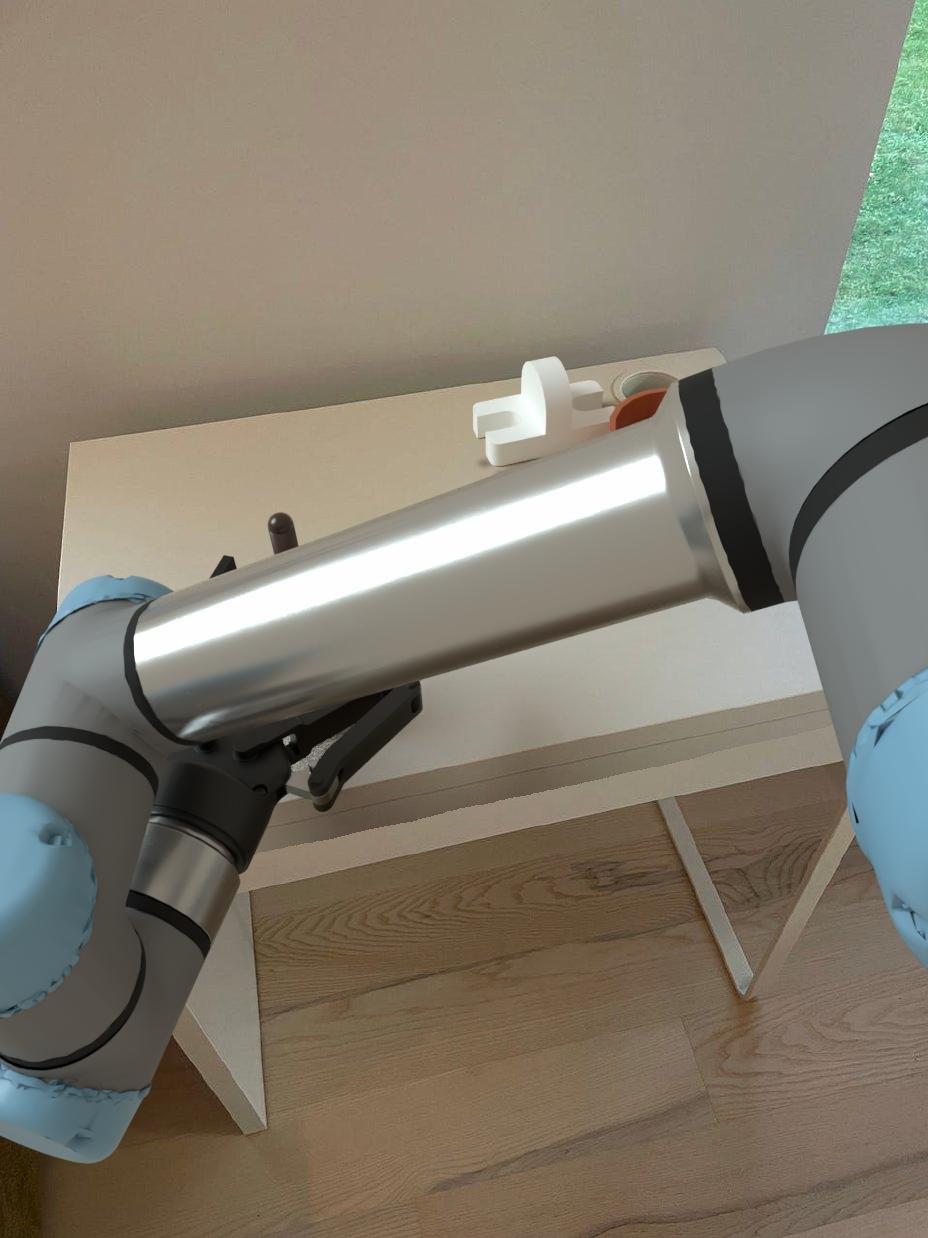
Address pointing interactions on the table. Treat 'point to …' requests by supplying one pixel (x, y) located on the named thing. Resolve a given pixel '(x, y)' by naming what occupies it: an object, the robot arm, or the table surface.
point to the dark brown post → (282, 532)
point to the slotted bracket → (541, 415)
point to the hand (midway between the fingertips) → (319, 584)
